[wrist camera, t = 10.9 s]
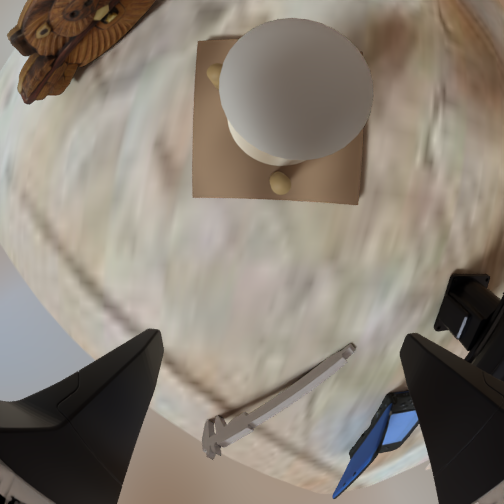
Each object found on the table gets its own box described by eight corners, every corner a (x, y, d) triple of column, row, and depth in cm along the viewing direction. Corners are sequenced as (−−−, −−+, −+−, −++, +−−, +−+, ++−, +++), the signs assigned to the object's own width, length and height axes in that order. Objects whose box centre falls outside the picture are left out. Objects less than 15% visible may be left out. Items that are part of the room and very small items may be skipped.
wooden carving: (69, 118, 18) (-15, 116, 9) (47, 94, 17) (-30, 87, 8) (200, -19, 14) (169, -89, 4) (167, -35, 13) (129, -94, 3)
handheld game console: (395, 443, 33) (409, 484, 24) (323, 453, 33) (329, 501, 24) (440, 382, 28) (467, 430, 19) (357, 393, 28) (376, 456, 19)
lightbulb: (329, 156, 18) (407, 164, 7) (240, 160, 18) (213, 169, 8) (321, 73, 16) (383, 1, 5) (233, 77, 16) (201, -3, 6)
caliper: (211, 422, 30) (205, 462, 24) (205, 419, 30) (198, 458, 24) (354, 346, 25) (372, 392, 19) (349, 341, 25) (367, 386, 19)
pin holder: (358, 55, 16) (377, 38, 12) (353, 202, 20) (373, 214, 16) (200, 45, 16) (188, 25, 12) (195, 195, 20) (181, 205, 16)
